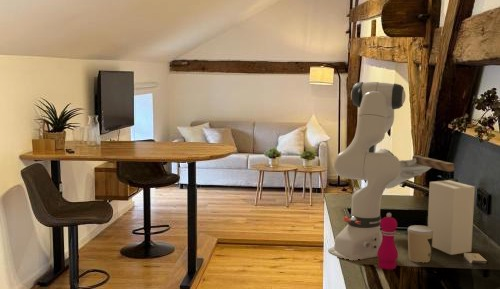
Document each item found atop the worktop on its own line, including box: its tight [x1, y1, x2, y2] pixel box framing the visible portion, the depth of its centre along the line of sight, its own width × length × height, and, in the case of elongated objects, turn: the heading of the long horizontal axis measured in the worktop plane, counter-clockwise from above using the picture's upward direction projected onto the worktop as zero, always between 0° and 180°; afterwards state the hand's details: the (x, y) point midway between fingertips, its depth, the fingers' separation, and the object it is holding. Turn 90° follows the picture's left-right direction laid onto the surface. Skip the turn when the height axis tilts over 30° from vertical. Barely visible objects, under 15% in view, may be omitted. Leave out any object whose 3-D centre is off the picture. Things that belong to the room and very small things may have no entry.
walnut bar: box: [411, 155, 455, 172], centre depth 228 cm, size 22×3×3 cm, turn 22°
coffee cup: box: [407, 224, 434, 264], centre depth 207 cm, size 9×9×12 cm
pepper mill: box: [377, 212, 399, 270], centre depth 198 cm, size 7×7×20 cm
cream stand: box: [427, 179, 476, 256], centre depth 219 cm, size 14×10×26 cm
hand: (420, 159), depth 234 cm, fingers closed on walnut bar, 3 cm apart
